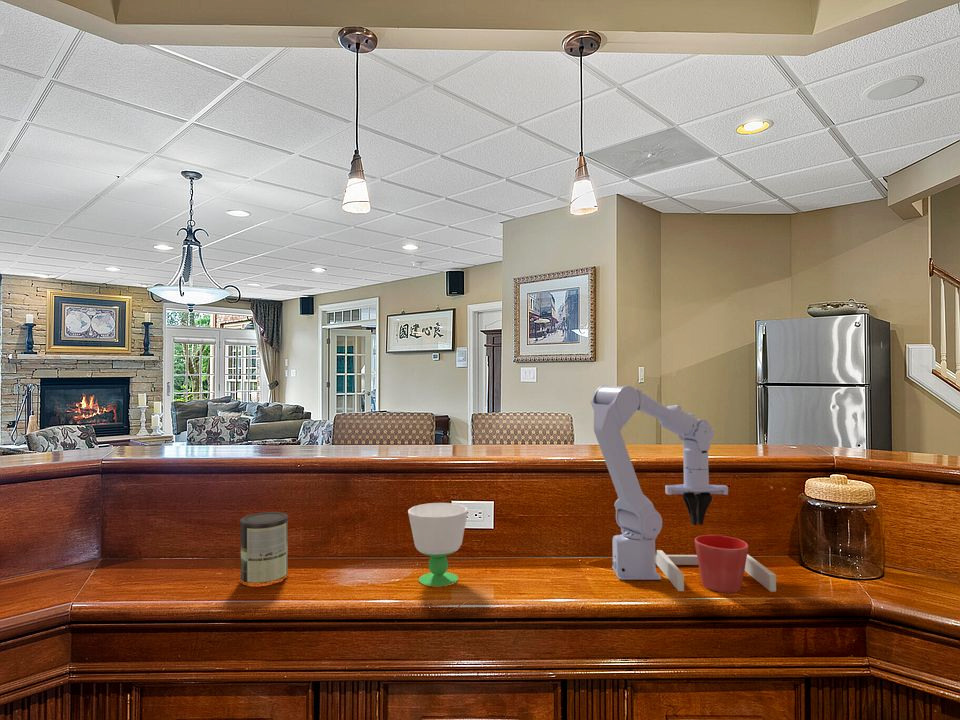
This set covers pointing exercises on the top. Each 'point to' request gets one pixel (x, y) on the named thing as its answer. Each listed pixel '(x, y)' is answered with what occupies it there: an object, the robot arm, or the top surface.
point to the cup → (438, 537)
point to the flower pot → (721, 562)
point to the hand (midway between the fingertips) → (696, 523)
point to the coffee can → (264, 547)
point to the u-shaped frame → (677, 577)
